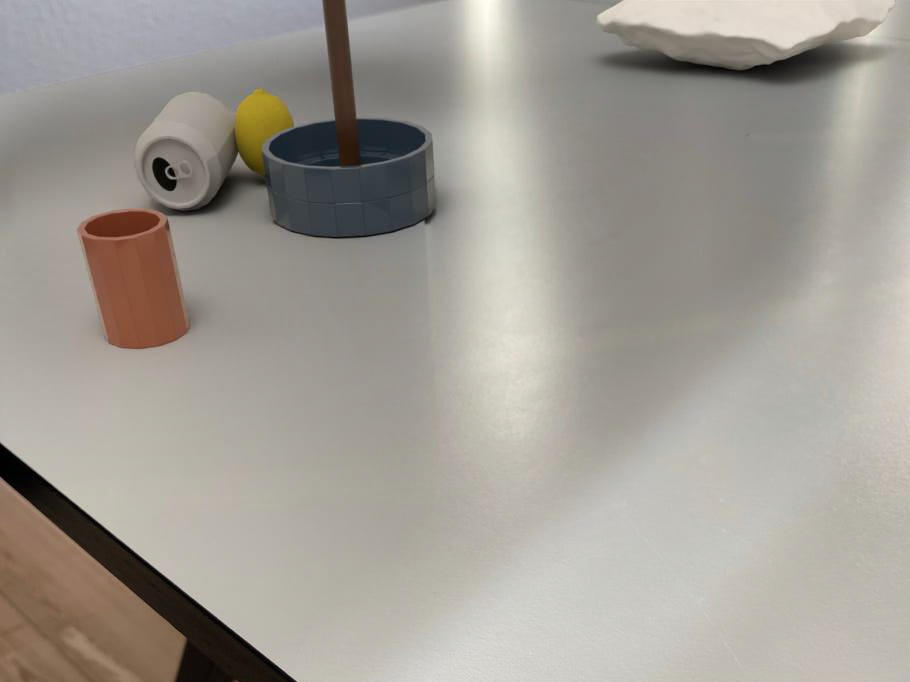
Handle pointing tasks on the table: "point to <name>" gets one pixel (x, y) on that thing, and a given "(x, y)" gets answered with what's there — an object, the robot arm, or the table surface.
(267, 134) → the lemon
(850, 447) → the table surface
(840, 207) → the table surface
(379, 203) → the bowl
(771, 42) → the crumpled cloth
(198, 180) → the can
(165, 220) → the holder
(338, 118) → the stick
